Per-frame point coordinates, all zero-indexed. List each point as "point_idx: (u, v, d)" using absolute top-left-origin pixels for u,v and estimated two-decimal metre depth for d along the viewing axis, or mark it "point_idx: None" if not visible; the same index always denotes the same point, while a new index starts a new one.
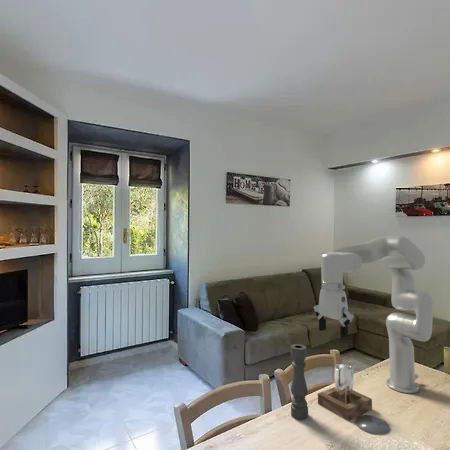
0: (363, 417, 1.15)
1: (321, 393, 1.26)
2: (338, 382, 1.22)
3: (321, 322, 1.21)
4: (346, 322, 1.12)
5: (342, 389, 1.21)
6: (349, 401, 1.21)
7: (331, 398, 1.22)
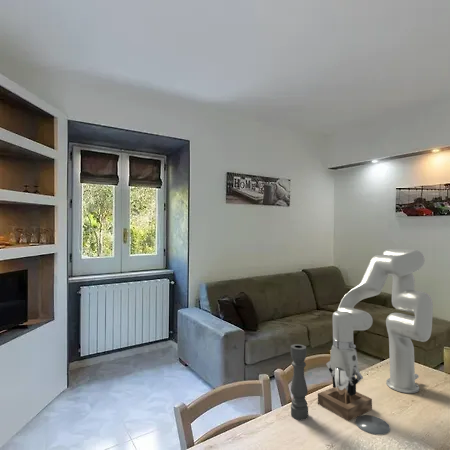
0: (363, 417, 1.15)
1: (321, 393, 1.26)
2: (338, 382, 1.22)
3: None
4: (354, 381, 1.19)
5: (342, 389, 1.21)
6: (349, 401, 1.21)
7: (331, 398, 1.22)
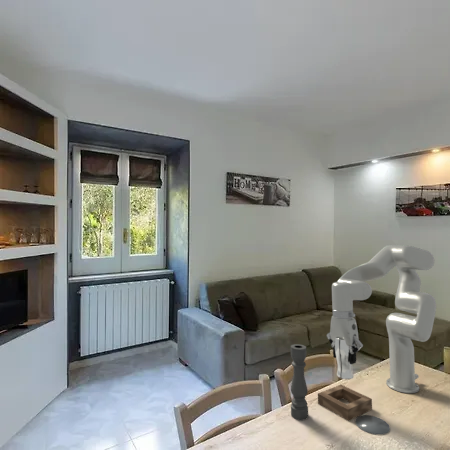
0: (363, 417, 1.15)
1: (321, 393, 1.26)
2: (338, 351, 1.22)
3: None
4: (354, 350, 1.19)
5: (342, 359, 1.22)
6: (349, 370, 1.22)
7: (331, 398, 1.22)
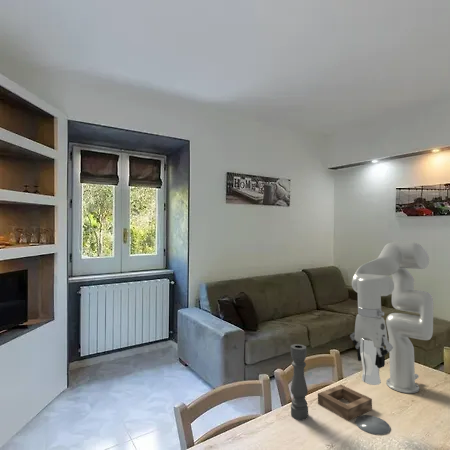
0: (363, 417, 1.15)
1: (321, 393, 1.26)
2: (365, 354, 1.10)
3: None
4: (383, 352, 1.07)
5: (369, 362, 1.10)
6: (377, 374, 1.10)
7: (331, 398, 1.22)
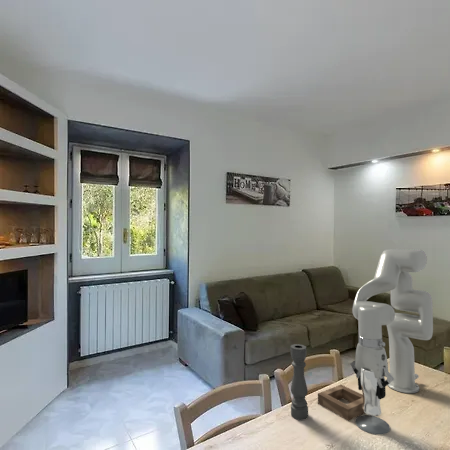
0: (363, 417, 1.15)
1: (321, 393, 1.26)
2: (365, 384, 1.10)
3: None
4: (384, 383, 1.07)
5: (369, 392, 1.09)
6: (377, 405, 1.09)
7: (331, 398, 1.22)
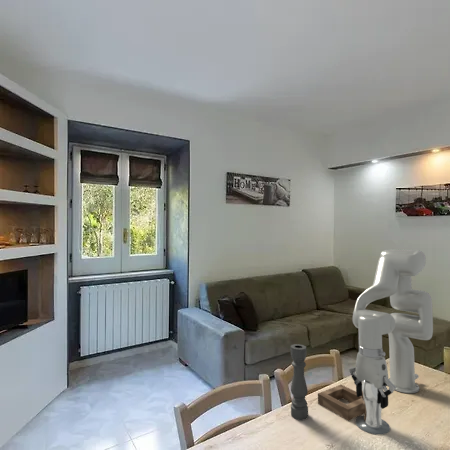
0: (363, 417, 1.15)
1: (321, 393, 1.26)
2: (366, 397, 1.10)
3: (359, 388, 1.15)
4: (387, 393, 1.06)
5: (370, 405, 1.09)
6: (379, 418, 1.09)
7: (331, 398, 1.22)
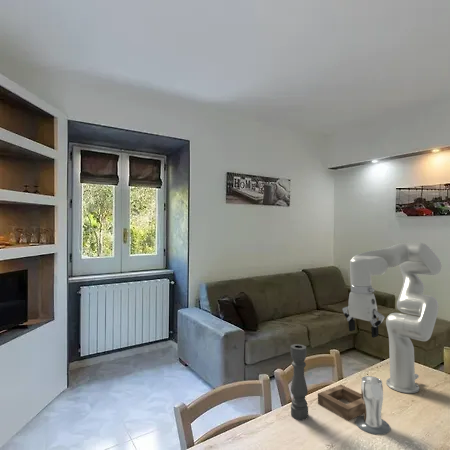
0: (363, 417, 1.15)
1: (321, 393, 1.26)
2: (366, 397, 1.10)
3: (351, 323, 1.28)
4: (377, 323, 1.19)
5: (370, 405, 1.09)
6: (378, 418, 1.09)
7: (331, 398, 1.22)
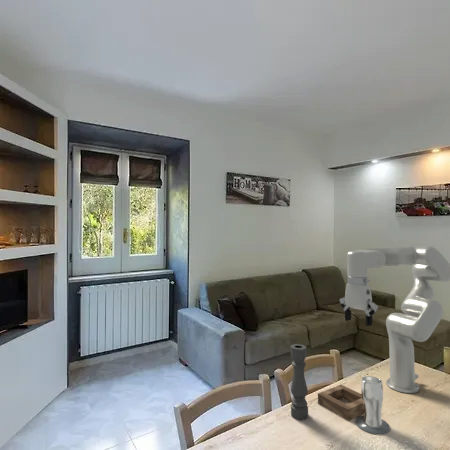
0: (363, 417, 1.15)
1: (321, 393, 1.26)
2: (366, 397, 1.10)
3: (347, 313, 1.35)
4: (371, 312, 1.25)
5: (370, 405, 1.09)
6: (378, 418, 1.09)
7: (331, 398, 1.22)
